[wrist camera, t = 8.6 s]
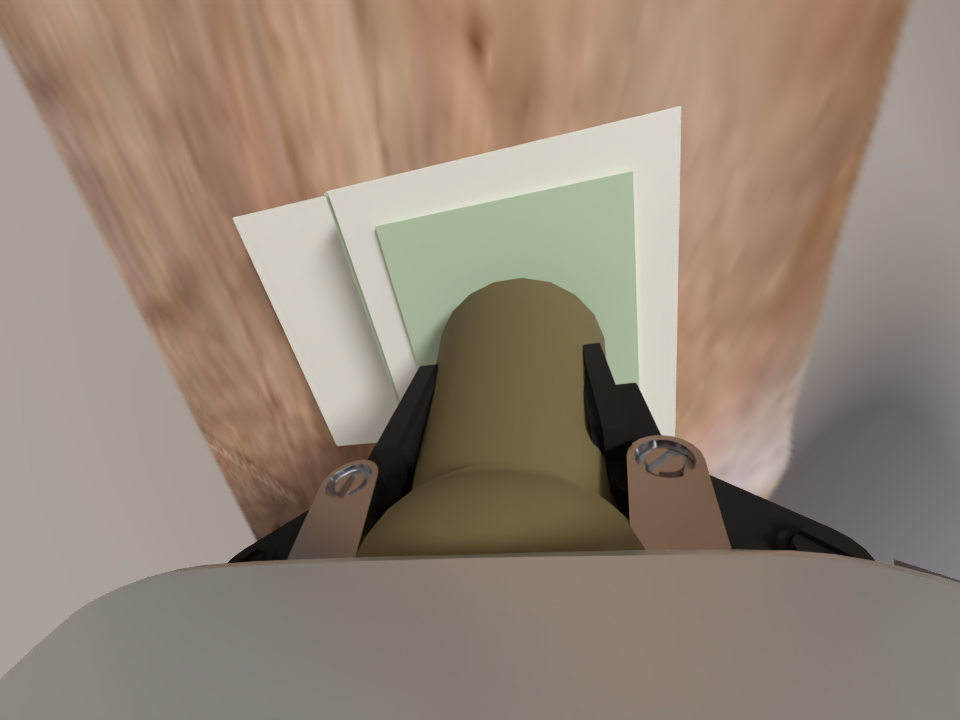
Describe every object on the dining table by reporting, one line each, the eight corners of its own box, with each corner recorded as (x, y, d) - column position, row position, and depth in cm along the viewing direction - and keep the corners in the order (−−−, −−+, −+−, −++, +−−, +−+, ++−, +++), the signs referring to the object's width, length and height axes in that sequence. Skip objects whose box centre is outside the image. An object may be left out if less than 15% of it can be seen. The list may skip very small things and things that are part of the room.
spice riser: (270, 211, 21) (165, 229, 15) (631, 125, 17) (684, 104, 11) (356, 418, 27) (305, 491, 21) (639, 388, 23) (676, 466, 17)
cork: (502, 448, 16) (457, 888, 6) (406, 340, 14) (136, 723, 4) (637, 378, 14) (888, 893, 4) (544, 240, 12) (599, 571, 2)
